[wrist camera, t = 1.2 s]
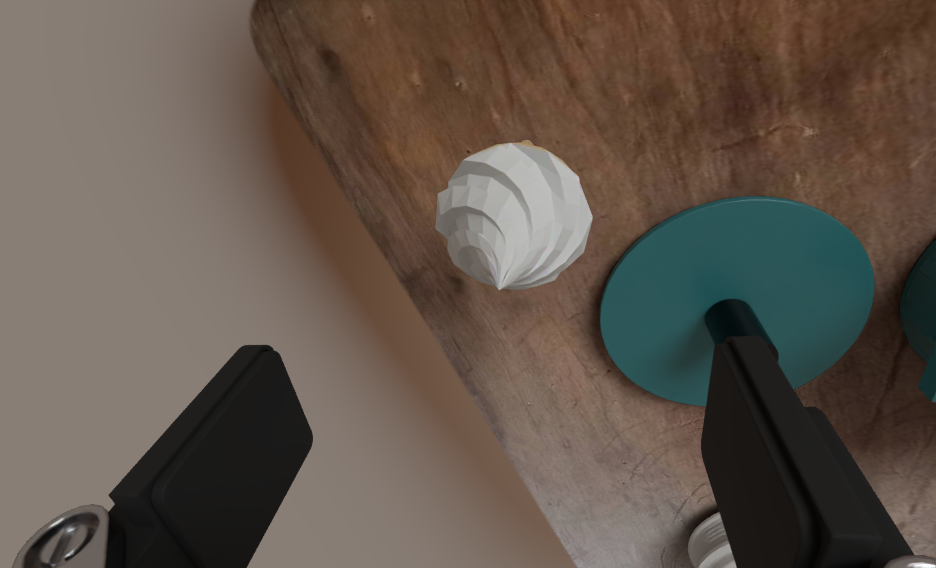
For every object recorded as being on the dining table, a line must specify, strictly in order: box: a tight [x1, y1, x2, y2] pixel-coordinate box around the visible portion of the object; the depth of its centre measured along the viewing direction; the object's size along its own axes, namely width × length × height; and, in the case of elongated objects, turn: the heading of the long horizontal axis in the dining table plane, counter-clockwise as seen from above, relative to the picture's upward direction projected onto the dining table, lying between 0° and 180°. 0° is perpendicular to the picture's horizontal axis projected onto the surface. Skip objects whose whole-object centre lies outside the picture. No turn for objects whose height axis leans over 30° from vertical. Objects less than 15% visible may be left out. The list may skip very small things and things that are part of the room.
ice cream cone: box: [435, 140, 593, 290], centre depth 20 cm, size 6×6×15 cm
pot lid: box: [599, 196, 875, 406], centre depth 27 cm, size 15×15×5 cm
